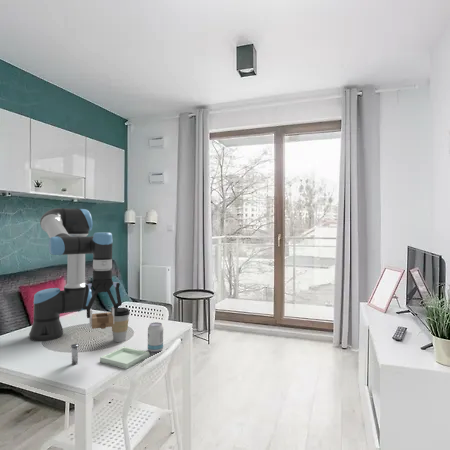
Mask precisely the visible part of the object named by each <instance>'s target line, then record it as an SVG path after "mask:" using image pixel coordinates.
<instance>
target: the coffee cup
mask: <svg viewBox="0 0 450 450" xmlns="http://www.w3.org/2000/svg"><path fill="white" fill-rule="evenodd" d="M110 312H111V313H112V310H111V311H110ZM130 314H131V312H130V310H129V308H127V307H117V315H114V324H113V326H112V327H111V331H112V339H113V342H116V343H122V342H124V341H126V339H127V334H128V327H129V320H130V319H129V318H130V317H129V316H130Z"/></svg>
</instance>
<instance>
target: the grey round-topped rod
mask: <svg viewBox="0 0 450 450" xmlns="http://www.w3.org/2000/svg"><path fill="white" fill-rule="evenodd" d="M79 345H80V344H78V343H72V344H71V345H70V348H71V365H73V366H74V365H78V363H79V362H78V360H79V356H78V355H79Z"/></svg>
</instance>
